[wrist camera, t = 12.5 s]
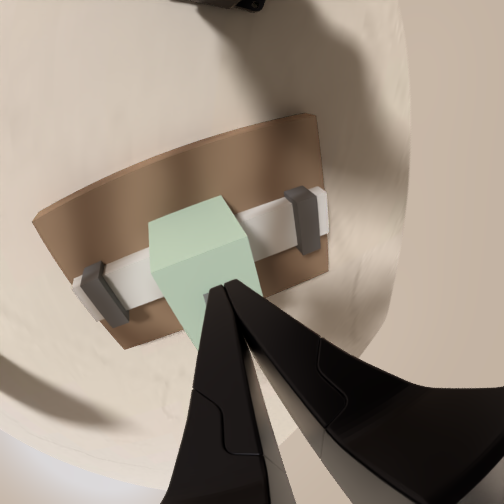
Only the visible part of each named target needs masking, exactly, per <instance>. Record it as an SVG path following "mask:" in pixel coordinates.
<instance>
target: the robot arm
mask: <svg viewBox="0 0 504 504" xmlns="http://www.w3.org/2000/svg"><path fill="white" fill-rule="evenodd" d="M190 1H193V2H199V3H204V4H209V5H213V6H218V7H222V8H226V9H230V8H232V7H235V8H239V9H242V10H245V11H249V12H253V13H255V12H258V11H260V10H261V9H262V8H263V6H264V3H265V0H190ZM252 3H255V4H256V5H257V8H254V7H252ZM247 344H248V345H247ZM248 346H249V348H248ZM249 349H250V350H249ZM250 351H251V352H252V354H253V356H254V358H255V359H256V361H257V363H258V364H259V366H260V368H261V369H262V371H263V373H264V374H265V376H266V377H267V379H268V381H269V382H270V384H271V385H272V387H273V389H274V390H275V392H276V393H277V395H278V397H279V398H280V400H281V401H282V403H283V404H284V406H285V407H286V409H287V411H288V412H289V414H290V415H291V417H292V418H293V420H294V421H295V423H296V424H297V426H298V427H299V429H300V430H301V432H302V433H303V435H304V436H305V438H306V439H307V440H308V442H309V444H310V445H311V447H312V448H313V449H314V451H315V452H316V454H317V455H318V457H319V458H320V459H321V461H322V462H323V464H324V465H325V467H326V468H327V469H328V471H329V472H330V474H331V475H332V476H333V478H334V479H335V481H336V482H337V483H338V484H339V486H340V487H341V489H342V490H343V491H344V493H345V494H346V495H347V496H348V498H349V499H350V501H351V502H352V503H353V504H504V386H503V387H497V388H431V387H424V386H420V385H416V384H413V383H411V382H408V381H405V380H404V379H401V378H399V377H397V376H395V375H392V374H390V373H388V372H386V371H383V370H381V369H379V368H377V367H375V366H372V365H370V364H368V363H366V362H364V361H362V360H360V359H358V358H356V357H354V356H352V355H350V354H349V353H347V352H345V351H344V350H342V349H340V348H339V347H337V346H335V345H334V344H332V343H331V342H329V341H328V340H326V339H325V338H323V337H322V338H321V337H320V335H318V334H317V333H315V332H314V331H312V330H311V329H309V328H308V327H306V326H305V325H303V324H302V323H300V322H299V321H297V320H296V319H294V318H293V317H291V316H290V315H288V314H287V313H286V312H284V311H283V310H281V309H280V308H278V307H277V306H275V305H274V304H272V303H271V302H269V301H268V300H267V299H265V298H264V297H262V296H261V295H259V294H258V293H256V292H255V291H254V290H252V289H251V288H249V287H248V286H246V285H245V284H244V283H242V282H241V281H239V280H238V279H233V280H231V281H228V282H225V283H224V286H223V285H222V284H220V285H218V286H215V287H212V288H210V290H209V293H208V299H207V304H206V309H205V315H204V321H203V326H202V332H201V338H200V343H199V349H198V355H197V361H196V368H195V374H194V380H193V390H192V392H191V399H190V405H189V410H188V416H187V421H186V425H185V429H184V433H183V437H182V441H181V445H180V448H179V452H178V455H177V459H176V463H175V466H174V470H173V474H172V477H171V481H170V484H169V487H168V490H167V492H166V494H165V496H164V498H163V500H162V502H161V503H160V504H296V502H295V499H294V496H293V493H292V489H291V486H290V484H289V480H288V477H287V474H286V471H285V468H284V465H283V461H282V458H281V455H280V452H279V449H278V445H277V442H276V439H275V436H274V432H273V429H272V426H271V422H270V419H269V416H268V412H267V409H266V405H265V402H264V399H263V395H262V392H261V388H260V385H259V381H258V378H257V374H256V371H255V367H254V364H253V360H252V356H251V353H250Z"/></svg>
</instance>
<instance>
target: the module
mask: <svg viewBox="0 0 504 504" xmlns="http://www.w3.org/2000/svg"><path fill="white" fill-rule="evenodd" d="M148 229H149V254H150V271H151V274H152V276H153V278H154V280H155V282H156V283H157V285H158V287H159V289H160V290H161V292H162V294H163V296H164V297H165V299H166V301H167V302H168V304H169V306H170V307H171V309H172V311H173V312H174V314H175V316H176V317H177V319H178V321H179V322H180V324H181V325H182V327H183V329H184V330H185V332H186V333H187V335H188V336H189V338H190V339H191V341H192V343H193V344H194V346H195V347H196V349H197V350H198V349H199V343H200V338H201V332H202V326H203V321H204V315H205V309H206V304H207V299H208V293H209V290H210V288H212V287H215V286H218V285H220V284H222V285H223V286H224V283H225V282H228V281H231V280H233V279H238V280H239V281H241V282H242V283H244V284H245V285H246V286H248V287H249V288H251V289H252V290H254V291H255V292H256V293H258V294H259V295H261V296H262V297H263V294H262V290H261V287H260V283H259V279H258V275H257V271H256V267H255V263H254V260H253V256H252V252H251V248H250V244H249V240H248V236H247V235H246V233H245V232H244V230H243V228H242V227H241V225H240V224H239V222H238V221H237V219H236V218H235V216H234V214H233V213H232V211H231V210H230V208H229V207H228V205H227V204H226V202H225V200H224V199H223V197H222V196H221V195H220V196H217V197H214V198H211V199H208V200H206V201H203V202H200V203H197V204H195V205H192V206H189V207H187V208H184V209H181V210H179V211H176V212H174V213H171V214H168V215H166V216H163V217H161V218H158V219H156V220H153V221H151V222H148Z"/></svg>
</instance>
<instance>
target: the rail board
mask: <svg viewBox="0 0 504 504" xmlns="http://www.w3.org/2000/svg"><path fill="white" fill-rule="evenodd" d="M220 195H221V196H222V197H223V199H224V200H225V202H226V204H227V205H228V207H229V208H230V210H231V211H232V213H233V214H234V216H235V218H236V219H237V221H238V222H239V224H240V225H241V227H242V228H243V230H244V232H245V233H246V235H247V236H248V240H249V244H250V248H251V252H252V256H253V260H254V263H255V267H256V271H257V275H258V279H259V283H260V287H261V290H262V294H263V297H264V298H266V297H268V296H271V295H273V294H276V293H278V292H281V291H283V290H285V289H288V288H290V287H292V286H295V285H297V284H299V283H302V282H304V281H306V280H309V279H311V278H313V277H316V276H318V275H320V274H323V273H325V272H327V271H328V244H327V233H329V221H328V204H327V192H326V191H324V183H323V172H322V162H321V152H320V143H319V135H318V127H317V120H316V116H315V115H311V114H307V113H302V114H298V115H293V116H288V117H284V118H279V119H275V120H271V121H266V122H262V123H258V124H254V125H251V126H247V127H243V128H240V129H236V130H232V131H229V132H226V133H222V134H219V135H216V136H212V137H209V138H206V139H203V140H200V141H197V142H194V143H191V144H188V145H185V146H182V147H179V148H176V149H174V150H171V151H168V152H165V153H163V154H160V155H158V156H155V157H152V158H150V159H147V160H145V161H142V162H140V163H137V164H135V165H133V166H130V167H128V168H126V169H123V170H121V171H119V172H116V173H114V174H112V175H110V176H108V177H105V178H103V179H101V180H99V181H97V182H95V183H93V184H91V185H88V186H86V187H84V188H82V189H80V190H78V191H76V192H75V193H73V194H71V195H69V196H67V197H65V198H63V199H61V200H59V201H58V202H56V203H54V204H52V205H50V206H49V207H47V208H45V209H43V210H42V211H40V212H38V214H37V215H36V217H35V218H34V220H33V221H32V223H33V225H34V226H35V228H36V230H37V232H38V233H39V235H40V237H41V238H42V240H43V242H44V243H45V245H46V247H47V248H48V250H49V252H50V253H51V255H52V256H53V258H54V259H55V261H56V262H57V264H58V265H59V267H60V268H61V270H62V271H63V273H64V274H65V276H66V277H67V279H68V280H69V282H70V283H71V284H72V288H71V289H72V291H73V292H74V293H75V295H76V296H77V297H78V299H79V300H80V301H81V303H82V304H83V305H84V307H85V308H86V309H87V310H88V312H89V313H90V314H91V315H92V317H93V318H94V319H95V320H96V321H100V322H101V323H102V324H103V326H104V327H105V328H106V329H107V330H108V332H109V333H110V334H111V335H112V336H113V337H114V338H115V340H116V341H117V342H118V343H119V344H120V345H121V346H122V347H123V349H124V350H125V349H128V348H131V347H134V346H137V345H140V344H143V343H146V342H149V341H152V340H155V339H158V338H161V337H163V336H166V335H169V334H172V333H175V332H178V331H180V330H183V327H182V325H181V324H180V322H179V321H178V319H177V317H176V316H175V314H174V312H173V311H172V309H171V307H170V306H169V304H168V302H167V301H166V299H165V297H164V296H163V294H162V292H161V290H160V289H159V287H158V285H157V283H156V282H155V280H154V278H153V276H152V274H151V271H150V254H149V229H148V222H151V221H153V220H156V219H158V218H161V217H163V216H166V215H168V214H171V213H174V212H176V211H179V210H181V209H184V208H187V207H189V206H192V205H195V204H197V203H200V202H203V201H206V200H208V199H211V198H214V197H217V196H220Z"/></svg>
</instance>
